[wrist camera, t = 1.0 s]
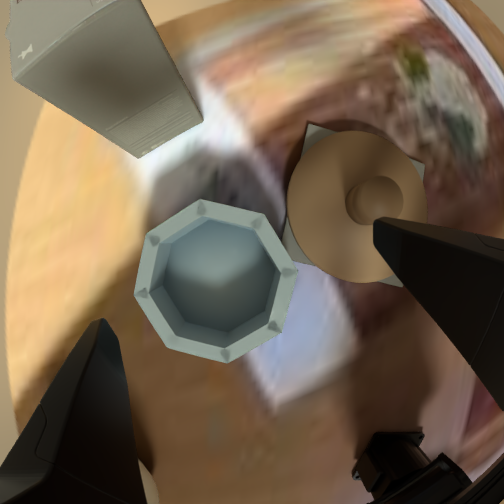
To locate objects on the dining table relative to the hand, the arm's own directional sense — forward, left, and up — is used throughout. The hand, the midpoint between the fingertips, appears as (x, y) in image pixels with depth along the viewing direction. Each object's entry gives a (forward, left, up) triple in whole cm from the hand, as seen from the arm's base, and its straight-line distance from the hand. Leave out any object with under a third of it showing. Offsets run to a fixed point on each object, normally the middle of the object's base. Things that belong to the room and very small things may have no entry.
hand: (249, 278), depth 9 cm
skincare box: (+11, -10, -15) cm, 21 cm away
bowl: (+2, +2, -15) cm, 15 cm away
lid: (-8, -6, -14) cm, 18 cm away
